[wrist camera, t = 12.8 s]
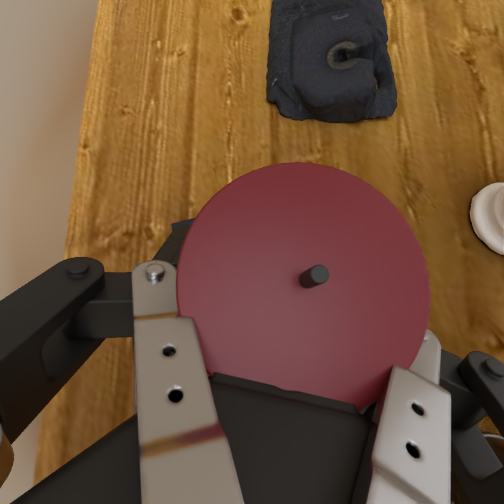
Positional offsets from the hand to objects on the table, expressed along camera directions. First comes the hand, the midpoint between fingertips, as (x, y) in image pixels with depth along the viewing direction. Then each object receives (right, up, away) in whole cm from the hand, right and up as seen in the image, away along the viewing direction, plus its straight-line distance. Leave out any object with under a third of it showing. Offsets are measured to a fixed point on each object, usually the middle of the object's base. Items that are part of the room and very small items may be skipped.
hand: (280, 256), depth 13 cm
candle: (-1, -3, +4) cm, 5 cm away
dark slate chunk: (+8, +26, +24) cm, 36 cm away
